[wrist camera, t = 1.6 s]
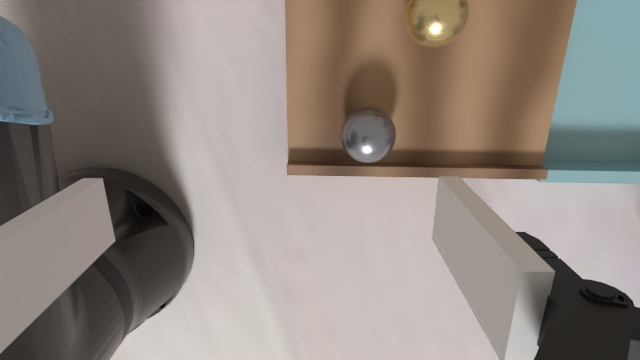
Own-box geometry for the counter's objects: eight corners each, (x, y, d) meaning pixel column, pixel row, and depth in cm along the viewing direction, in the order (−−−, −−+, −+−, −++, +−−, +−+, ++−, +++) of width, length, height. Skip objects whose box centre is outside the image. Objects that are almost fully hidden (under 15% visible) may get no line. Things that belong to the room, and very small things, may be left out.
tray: (521, 169, 34) (539, 182, 31) (561, -39, 28) (589, -48, 25) (661, 171, 34) (693, 184, 31) (728, -38, 28) (775, -47, 25)
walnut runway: (291, 160, 34) (287, 174, 30) (289, -33, 29) (283, -44, 25) (522, 163, 34) (546, 179, 30) (559, -31, 29) (594, -42, 25)
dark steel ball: (338, 153, 31) (340, 169, 27) (340, 102, 29) (341, 111, 26) (389, 154, 31) (398, 170, 27) (393, 103, 29) (402, 112, 25)
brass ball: (397, 47, 28) (408, 48, 24) (402, -15, 27) (414, -25, 23) (453, 47, 28) (473, 48, 24) (461, -15, 26) (482, -24, 23)
